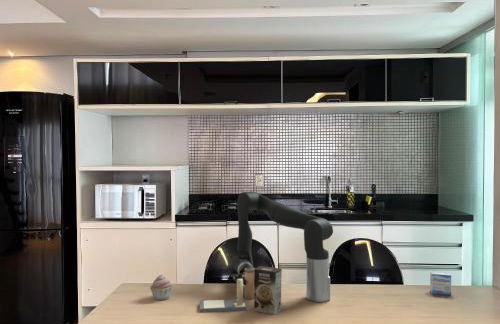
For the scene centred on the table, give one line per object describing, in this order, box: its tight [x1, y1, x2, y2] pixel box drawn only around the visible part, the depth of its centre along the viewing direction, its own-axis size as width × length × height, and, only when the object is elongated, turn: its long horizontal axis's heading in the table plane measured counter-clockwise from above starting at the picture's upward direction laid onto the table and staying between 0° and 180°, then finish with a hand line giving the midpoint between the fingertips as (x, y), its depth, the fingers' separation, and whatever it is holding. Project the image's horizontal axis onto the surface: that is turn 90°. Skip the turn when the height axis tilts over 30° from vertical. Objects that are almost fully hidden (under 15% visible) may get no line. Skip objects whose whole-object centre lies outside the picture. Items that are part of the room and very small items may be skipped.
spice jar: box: [244, 266, 257, 300], centre depth 168 cm, size 5×5×12 cm
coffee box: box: [253, 265, 283, 315], centre depth 153 cm, size 9×6×16 cm
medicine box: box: [429, 271, 452, 296], centre depth 175 cm, size 8×4×9 cm, turn 73°
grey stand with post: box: [199, 279, 248, 313], centre depth 157 cm, size 18×9×11 cm, turn 97°
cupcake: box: [149, 274, 173, 301], centre depth 167 cm, size 9×9×10 cm
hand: (250, 282), depth 165 cm, fingers closed on spice jar, 4 cm apart
